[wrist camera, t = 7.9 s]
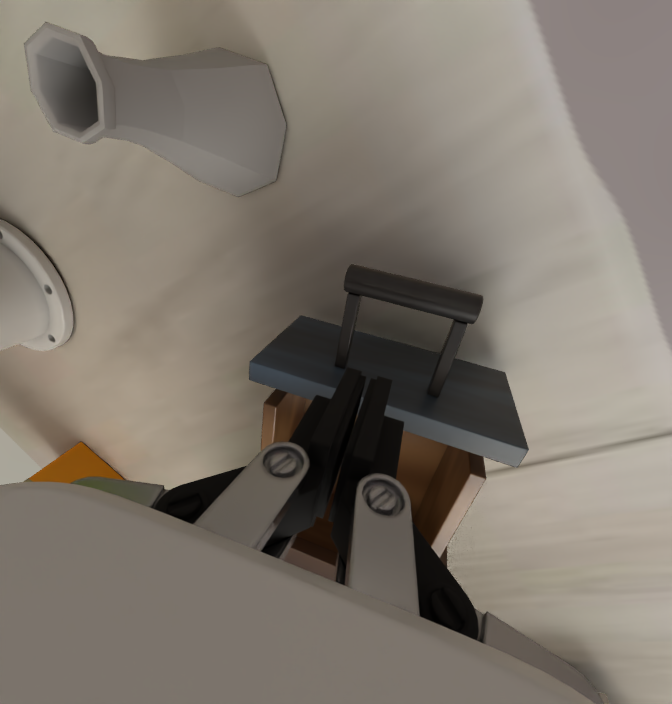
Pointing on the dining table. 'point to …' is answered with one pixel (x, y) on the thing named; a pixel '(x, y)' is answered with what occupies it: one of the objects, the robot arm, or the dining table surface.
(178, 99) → the flask
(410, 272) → the dining table surface
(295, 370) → the drawer
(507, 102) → the dining table surface
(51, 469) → the orange juice
